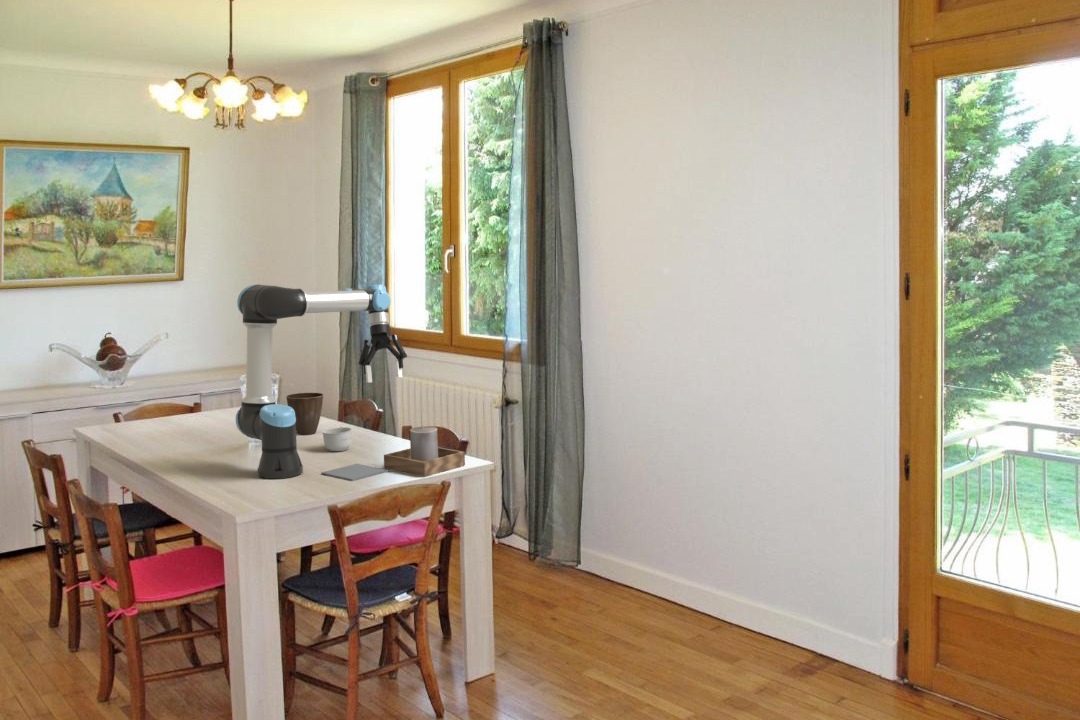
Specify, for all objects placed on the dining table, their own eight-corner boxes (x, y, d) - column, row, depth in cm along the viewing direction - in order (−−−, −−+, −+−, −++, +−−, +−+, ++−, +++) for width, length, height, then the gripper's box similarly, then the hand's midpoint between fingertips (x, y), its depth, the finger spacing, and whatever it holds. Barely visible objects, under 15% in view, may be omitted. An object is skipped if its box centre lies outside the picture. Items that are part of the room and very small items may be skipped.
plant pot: (280, 434, 411) (278, 396, 409) (308, 428, 423) (306, 391, 421) (304, 438, 402) (303, 399, 400) (332, 432, 414) (330, 394, 412)
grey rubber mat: (352, 480, 332) (352, 479, 332) (321, 474, 342) (321, 472, 342) (387, 471, 345) (387, 469, 345) (356, 465, 355) (356, 463, 355)
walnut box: (424, 477, 337) (424, 462, 336) (384, 468, 349) (383, 454, 348) (465, 465, 352) (464, 451, 351) (424, 458, 364) (424, 444, 364)
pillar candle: (419, 463, 357) (417, 422, 355) (443, 465, 353) (442, 423, 351) (406, 469, 348) (404, 427, 346) (430, 471, 344) (428, 429, 342)
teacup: (345, 453, 374) (344, 432, 373) (318, 452, 376) (317, 431, 375) (359, 445, 387) (358, 425, 386) (333, 444, 390) (332, 424, 388)
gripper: (412, 320, 379) (417, 375, 376) (358, 331, 389) (362, 384, 386) (402, 318, 372) (407, 374, 370) (346, 329, 382) (351, 384, 379)
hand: (384, 380), depth 378 cm, fingers open, 13 cm apart
